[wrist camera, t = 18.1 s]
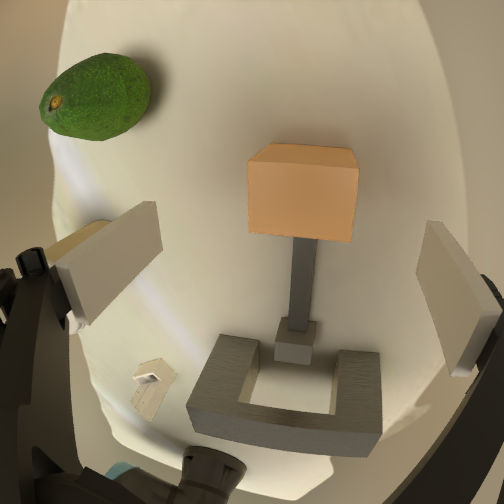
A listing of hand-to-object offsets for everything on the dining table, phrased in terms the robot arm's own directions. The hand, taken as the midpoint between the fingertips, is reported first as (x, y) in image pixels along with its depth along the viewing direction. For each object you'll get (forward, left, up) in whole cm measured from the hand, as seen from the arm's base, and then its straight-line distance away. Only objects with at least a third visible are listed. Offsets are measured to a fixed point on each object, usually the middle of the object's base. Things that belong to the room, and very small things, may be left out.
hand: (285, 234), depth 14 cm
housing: (-24, 0, -14) cm, 28 cm away
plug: (-9, 0, -14) cm, 17 cm away
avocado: (+8, +17, -14) cm, 24 cm away
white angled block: (-32, +22, -15) cm, 41 cm away
